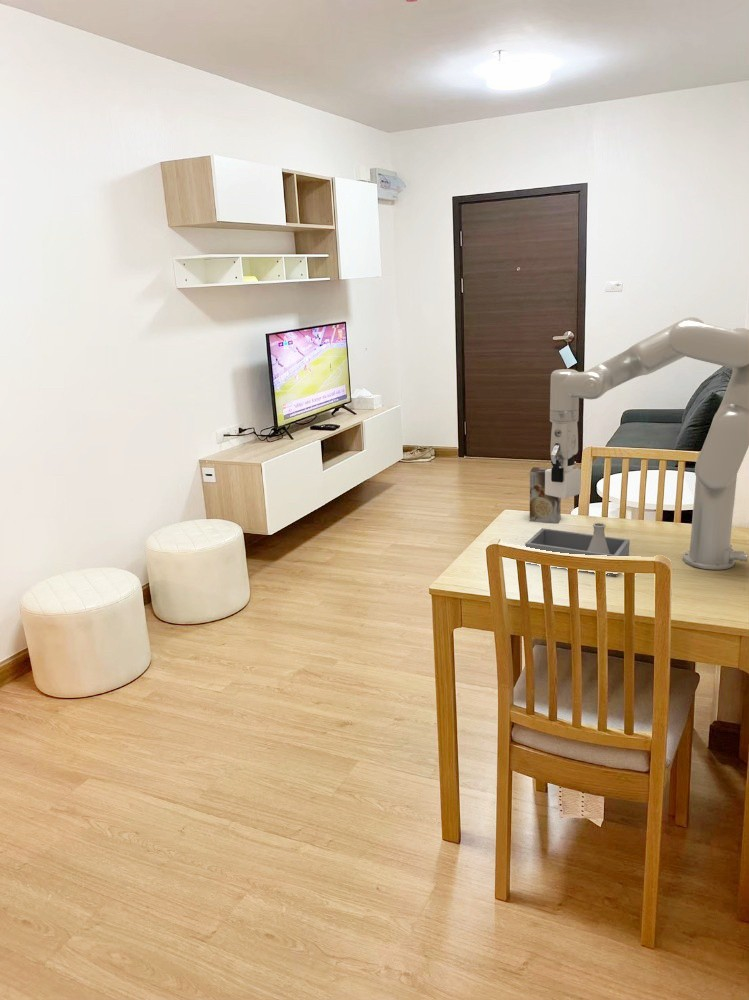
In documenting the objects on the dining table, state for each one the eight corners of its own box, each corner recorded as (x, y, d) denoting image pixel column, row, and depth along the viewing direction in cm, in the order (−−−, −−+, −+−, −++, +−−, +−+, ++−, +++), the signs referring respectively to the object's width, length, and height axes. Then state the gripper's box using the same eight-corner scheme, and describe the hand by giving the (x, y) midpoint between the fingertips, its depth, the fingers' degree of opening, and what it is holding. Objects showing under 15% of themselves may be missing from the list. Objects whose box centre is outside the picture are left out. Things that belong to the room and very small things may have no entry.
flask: (613, 565, 202) (615, 529, 199) (584, 564, 203) (585, 528, 201) (610, 556, 209) (612, 520, 206) (582, 555, 210) (584, 519, 207)
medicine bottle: (559, 489, 222) (560, 448, 219) (580, 493, 217) (582, 451, 213) (544, 494, 217) (544, 452, 214) (565, 499, 212) (566, 456, 209)
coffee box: (561, 517, 245) (562, 468, 241) (558, 523, 240) (560, 473, 235) (532, 515, 249) (533, 466, 244) (528, 521, 243) (529, 471, 238)
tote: (628, 559, 209) (629, 539, 207) (616, 576, 197) (617, 556, 196) (541, 546, 220) (542, 528, 219) (524, 562, 209) (525, 543, 207)
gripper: (567, 422, 202) (565, 486, 207) (587, 411, 216) (585, 471, 221) (539, 420, 206) (538, 484, 211) (561, 409, 220) (559, 469, 225)
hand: (562, 477), depth 216 cm, fingers closed on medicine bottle, 8 cm apart
